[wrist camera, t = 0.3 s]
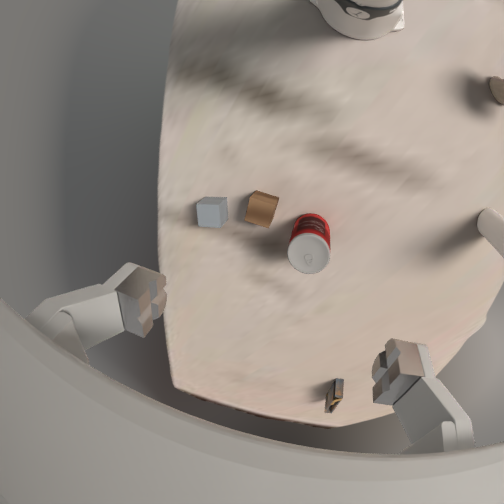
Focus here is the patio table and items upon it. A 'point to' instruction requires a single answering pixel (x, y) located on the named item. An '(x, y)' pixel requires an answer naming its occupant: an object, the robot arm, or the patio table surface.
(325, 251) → the canned food
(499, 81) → the decorative mushroom
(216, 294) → the patio table surface
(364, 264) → the patio table surface
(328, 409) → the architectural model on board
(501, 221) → the white bottle
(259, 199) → the walnut block
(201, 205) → the grey block
